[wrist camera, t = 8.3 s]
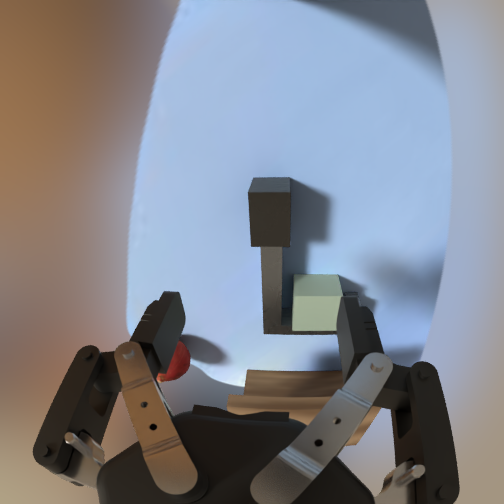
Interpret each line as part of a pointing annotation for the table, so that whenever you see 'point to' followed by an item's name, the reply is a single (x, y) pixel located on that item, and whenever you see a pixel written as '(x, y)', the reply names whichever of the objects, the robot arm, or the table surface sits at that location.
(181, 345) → the red rounded piece
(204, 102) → the table surface
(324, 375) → the walnut shelf
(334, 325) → the block
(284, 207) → the mallet
